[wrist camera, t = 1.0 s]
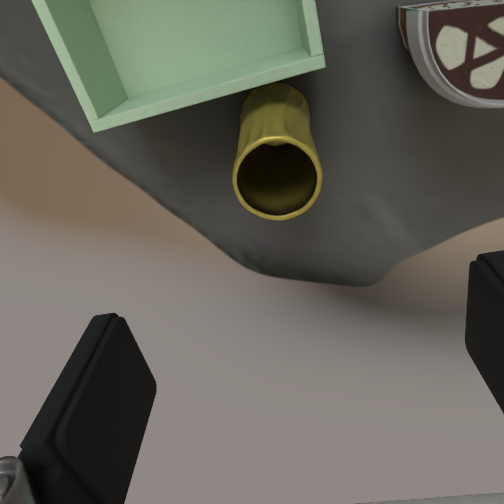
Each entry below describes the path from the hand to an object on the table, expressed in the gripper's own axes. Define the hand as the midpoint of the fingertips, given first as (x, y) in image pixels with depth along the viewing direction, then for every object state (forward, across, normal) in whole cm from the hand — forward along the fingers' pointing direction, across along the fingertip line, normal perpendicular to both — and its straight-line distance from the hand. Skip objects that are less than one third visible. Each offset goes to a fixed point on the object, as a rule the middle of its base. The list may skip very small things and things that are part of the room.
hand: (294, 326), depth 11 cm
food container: (+28, -15, -2) cm, 32 cm away
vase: (+28, 0, +1) cm, 28 cm away
